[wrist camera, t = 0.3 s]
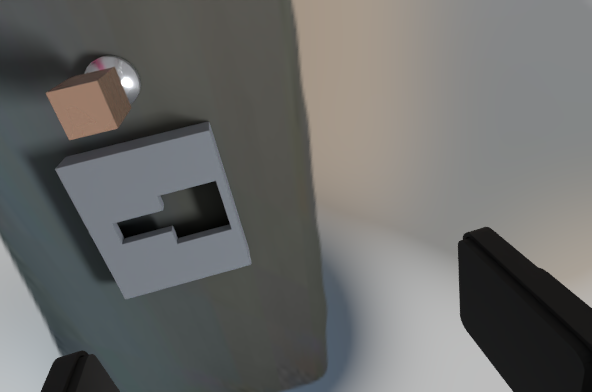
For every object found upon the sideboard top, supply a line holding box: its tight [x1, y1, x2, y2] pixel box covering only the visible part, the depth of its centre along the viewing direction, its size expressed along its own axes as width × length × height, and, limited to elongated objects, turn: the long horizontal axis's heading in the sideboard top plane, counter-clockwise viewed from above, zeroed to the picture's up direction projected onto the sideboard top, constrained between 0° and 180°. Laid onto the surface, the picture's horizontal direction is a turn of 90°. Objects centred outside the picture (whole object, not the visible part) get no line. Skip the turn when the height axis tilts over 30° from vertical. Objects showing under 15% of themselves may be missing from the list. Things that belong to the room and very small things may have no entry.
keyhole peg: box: [46, 55, 141, 140], centre depth 34 cm, size 5×5×11 cm
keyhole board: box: [55, 121, 251, 299], centre depth 44 cm, size 17×15×3 cm
